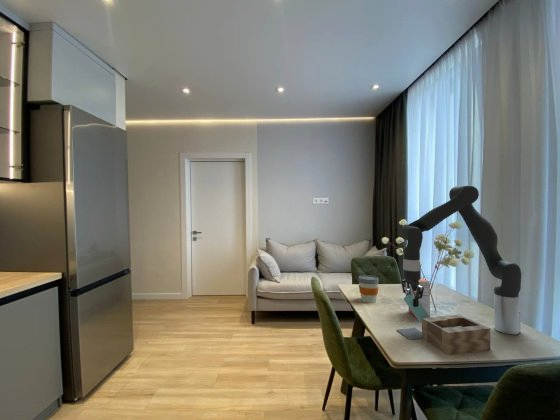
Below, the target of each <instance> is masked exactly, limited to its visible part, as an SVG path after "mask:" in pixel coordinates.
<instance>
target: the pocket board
mask: <svg viewBox="0 0 560 420" xmlns="http://www.w3.org/2000/svg"><path fill="white" fill-rule="evenodd" d="M421 332H422V337H423V340H425V341H426V342H428V343H429V344H430V345H432V346H434V347H436V348H437V349H438V350H440V351H441V352H443V353H444V354H446V355H449V356H450V355H451V356H452V355H460V354H468V353H475V352H476V353H477V352H485V351H491V328H490V327H488V326H486V325H484V324H481V323H479V322H477V321H475V320H473V319H471V318H468V317H467V316H464V315H462V314H450V315H441V316H430V317H428V318H422V322H421Z"/></svg>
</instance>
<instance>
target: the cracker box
mask: <svg viewBox="0 0 560 420" xmlns="http://www.w3.org/2000/svg"><path fill="white" fill-rule="evenodd" d="M430 284H431V283H430V281H429V280H427V279H425V278H423V277H421V279H420V280H419V285H420V286H421V287H424V290H423V295H422V298H421V299H419V302H420V304H421V305H422V306H423V308H424V309H425V310H426V312H427V313H428V315H429V316H430V317H431V288H430V286H431V285H430ZM414 292H416V291H414ZM411 294H412V293H411ZM412 295H413V294H412ZM415 296H416V293H415ZM419 296H420V294H419ZM407 306H408V305H407ZM407 308H408V312H409V313H411V314H412V315H413V316H414V317H415V318H417V317H416V316H415V314H414V313H413V312H412V310H411V309H410V308H409V306H408V307H407Z"/></svg>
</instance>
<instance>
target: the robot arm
mask: <svg viewBox="0 0 560 420" xmlns="http://www.w3.org/2000/svg"><path fill="white" fill-rule="evenodd" d="M479 195H480V193H479V189H478V188H477V187H476V186H475V185H470V184H462V185H455V186H453V187H451V189H450V190H449V199H450V200H448V201H446V202H445V203H443V204H440V205H438V206H436V207H434V208H432V209H431V210H429V211H427V212H426V213H424V214H423V215H422V216H421V217H420V218H418V219H416V220H414V221H412V222H410V223H408V224H407V225H405V226H404V227H402V230H401V232H400V237H401V238H402V239H403V240H404V241H407V243H406V246H404V248H403V261H402V262H403V263H402V274H403V276H402V278H403V279H402V280H401V281H400V282H401V289H402V293H403V294H404V295H405V297H406V296H407V295H408V294H411V293H412V294H413V306H414V307H418V305H419V299H421V298H422V295H423V290H424V287H421V286H420V285H419V280H420V279H421V278H422V276H421V275H422V273H421V272H422V269H421V267H422V265H421V264H422V263H421V248H422V243H423V238H424V237H423V233H424V232H428V231H430V230H432V229H433V228H435V227H436V226H437V225H439V224H440V223H442V222H443V221H444V220H445V219H447V218H449V217H450V216H452V215H453V214H455V213H457V212H458V213H459V214H460V216H461V218H462V219H463V222H464V223H465V225H466V226H467V228H468V231H469V232H470V234H471V236H472V238H473V240H474V241H475V243H476V244H477V246H478V248H479V251H480V253H481V255H482V256H483V258H484V261H485V263H486V266H487V269H488V270H489V273H490V275H492V276H493V277H494V278H495V279H498V280H501V284H500V286H495V287H494V289H493V301H494V304H493V305H494V306H493V308H494V309H493V310H494V311H493V312H494V318H493V320H494V321H493V322H494V330H496V331H497V332H500V333H503V334H508V335H518V334H520V333H521V332H522V331H521V329H522V328H521V326H522V325H521V312H520V311H519V309H520V307H519V306H520V305H519V304H520V303H519V301H520V300H519V294H520V293H521V292H520V291H521V289H522V285H521V284H522V269H521V268H520V266H519V265H518V264H517V263H515V262H511V261H506V260H504V259H503V257H501V254H500V253H499V250H498V242H499V241H498V240H499V239H498V235H497V232H496V231H495V229H494V227H493V225H492V224H491V222H490V221H489V220H488V219H487V218H486V217H484V216H483V214H481V213H479V211H477V209H476V208H475V207H474V205H473V204H474V203H475V202H477V200H478V199H479ZM414 291H416V292H414ZM415 293H416V296H415ZM419 294H420V296H419Z"/></svg>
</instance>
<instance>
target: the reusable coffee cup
mask: <svg viewBox="0 0 560 420" xmlns="http://www.w3.org/2000/svg"><path fill="white" fill-rule="evenodd" d="M379 281H380V280H379V277H377V276H375V275H371V274H370V275H369V274H368V275H367V274H365V275H359V276H358V283H359V284H358V289H359V293H360V298H361V301H362V302H363V303H366V302H367V304H368V303H369V304H373V303H376V302H377V297H378V296H377V295H378V293H379V283H380V282H379Z"/></svg>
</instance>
